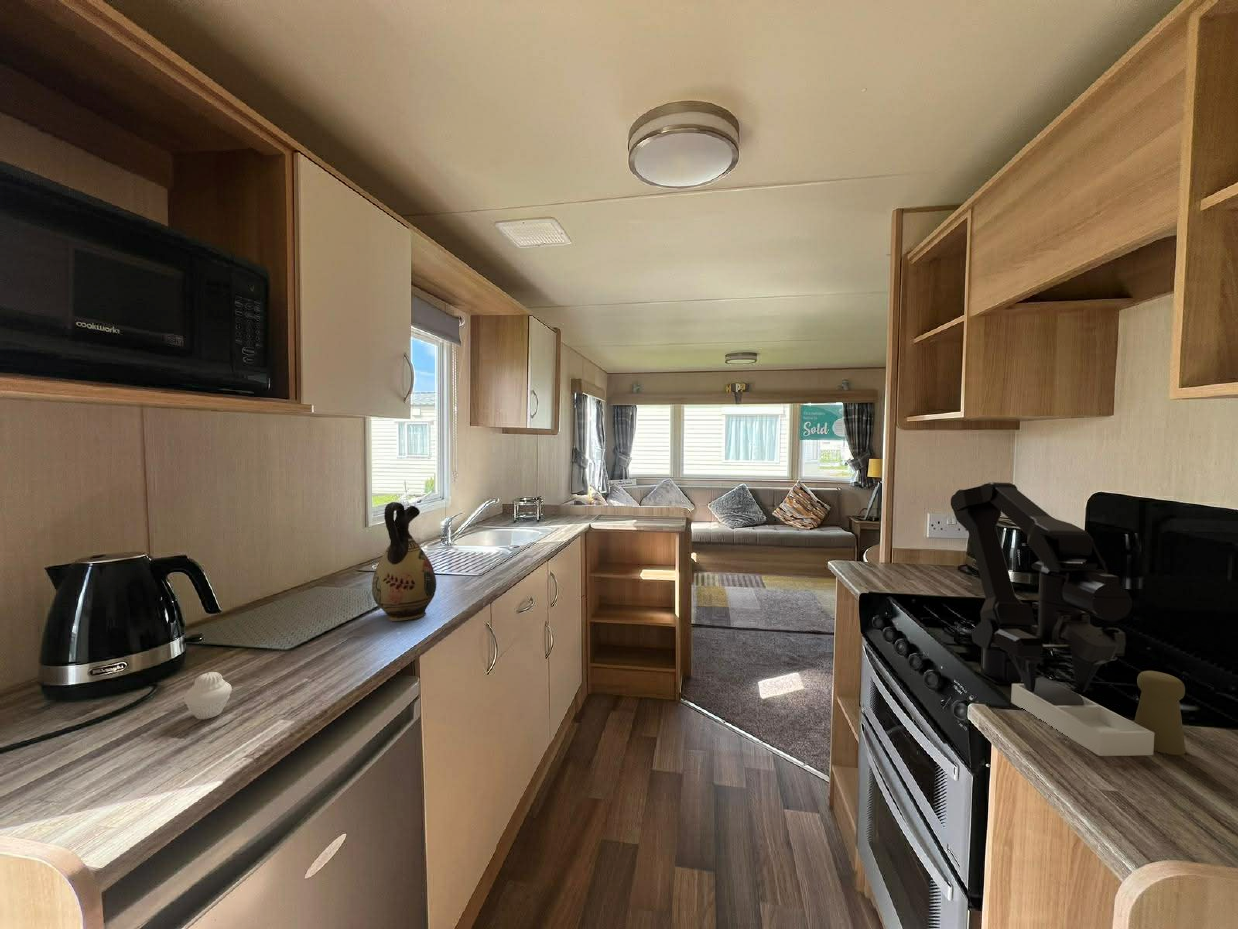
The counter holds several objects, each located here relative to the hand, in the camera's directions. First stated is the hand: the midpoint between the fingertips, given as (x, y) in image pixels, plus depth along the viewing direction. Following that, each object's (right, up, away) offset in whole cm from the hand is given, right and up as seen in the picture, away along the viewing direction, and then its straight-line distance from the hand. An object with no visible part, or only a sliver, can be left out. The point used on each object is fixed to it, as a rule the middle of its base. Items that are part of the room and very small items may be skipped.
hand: (1055, 691), depth 90 cm
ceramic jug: (-131, -1, +45) cm, 139 cm away
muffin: (-142, -2, -4) cm, 142 cm away
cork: (+9, -5, -9) cm, 13 cm away
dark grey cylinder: (0, -1, 0) cm, 1 cm away
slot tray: (0, -4, -4) cm, 6 cm away
